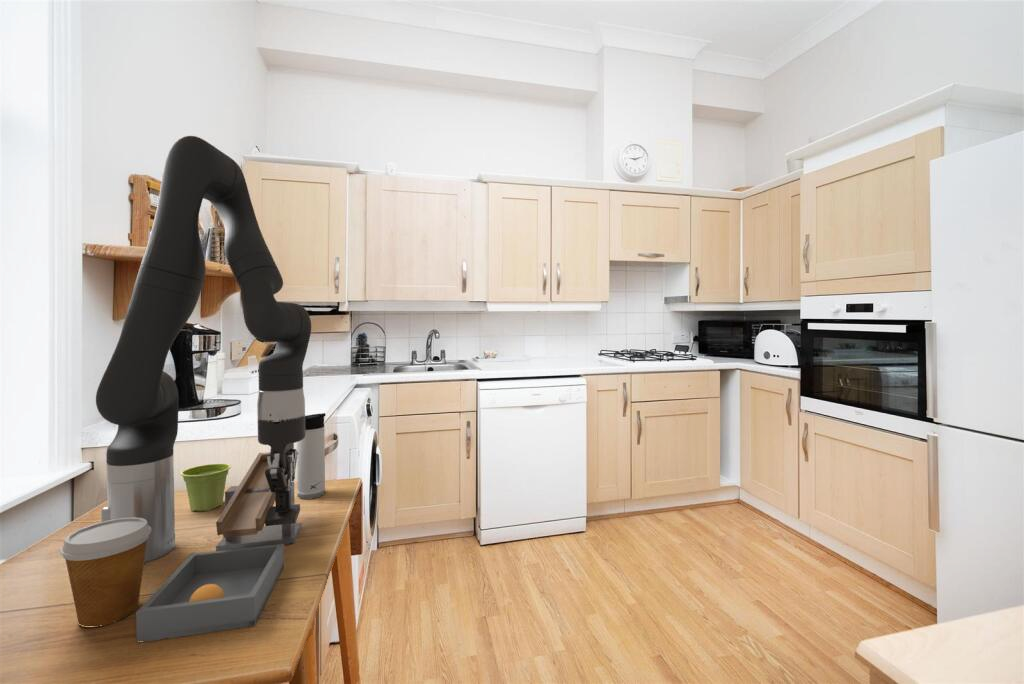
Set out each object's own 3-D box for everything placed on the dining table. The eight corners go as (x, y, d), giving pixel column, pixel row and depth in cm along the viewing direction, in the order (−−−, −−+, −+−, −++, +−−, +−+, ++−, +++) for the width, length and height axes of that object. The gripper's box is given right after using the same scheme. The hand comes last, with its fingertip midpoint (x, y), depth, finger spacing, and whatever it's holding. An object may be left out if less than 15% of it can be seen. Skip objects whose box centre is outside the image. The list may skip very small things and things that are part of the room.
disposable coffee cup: (150, 586, 70) (148, 510, 69) (155, 615, 63) (153, 530, 62) (64, 612, 63) (62, 529, 63) (58, 647, 56) (56, 553, 56)
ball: (180, 612, 58) (190, 580, 61) (188, 624, 60) (198, 593, 64) (214, 607, 59) (223, 576, 62) (222, 619, 61) (230, 589, 65)
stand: (215, 551, 81) (215, 496, 80) (230, 534, 87) (229, 483, 87) (293, 543, 84) (293, 489, 84) (301, 527, 91) (301, 478, 90)
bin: (136, 643, 57) (136, 612, 57) (191, 578, 72) (191, 553, 72) (254, 625, 60) (254, 596, 60) (283, 567, 75) (283, 543, 75)
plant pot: (179, 505, 102) (179, 468, 102) (227, 496, 108) (227, 460, 108) (182, 518, 95) (182, 478, 95) (234, 507, 101) (233, 469, 101)
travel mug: (319, 499, 106) (318, 416, 106) (292, 499, 106) (291, 416, 106) (330, 490, 112) (330, 411, 112) (304, 490, 112) (304, 411, 112)
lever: (219, 548, 74) (216, 522, 73) (261, 473, 97) (259, 452, 95) (293, 540, 77) (291, 515, 76) (317, 469, 99) (316, 449, 98)
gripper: (268, 409, 84) (270, 499, 85) (245, 422, 72) (248, 529, 72) (311, 407, 86) (312, 495, 87) (296, 420, 73) (298, 524, 74)
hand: (283, 510), depth 79 cm, fingers closed
